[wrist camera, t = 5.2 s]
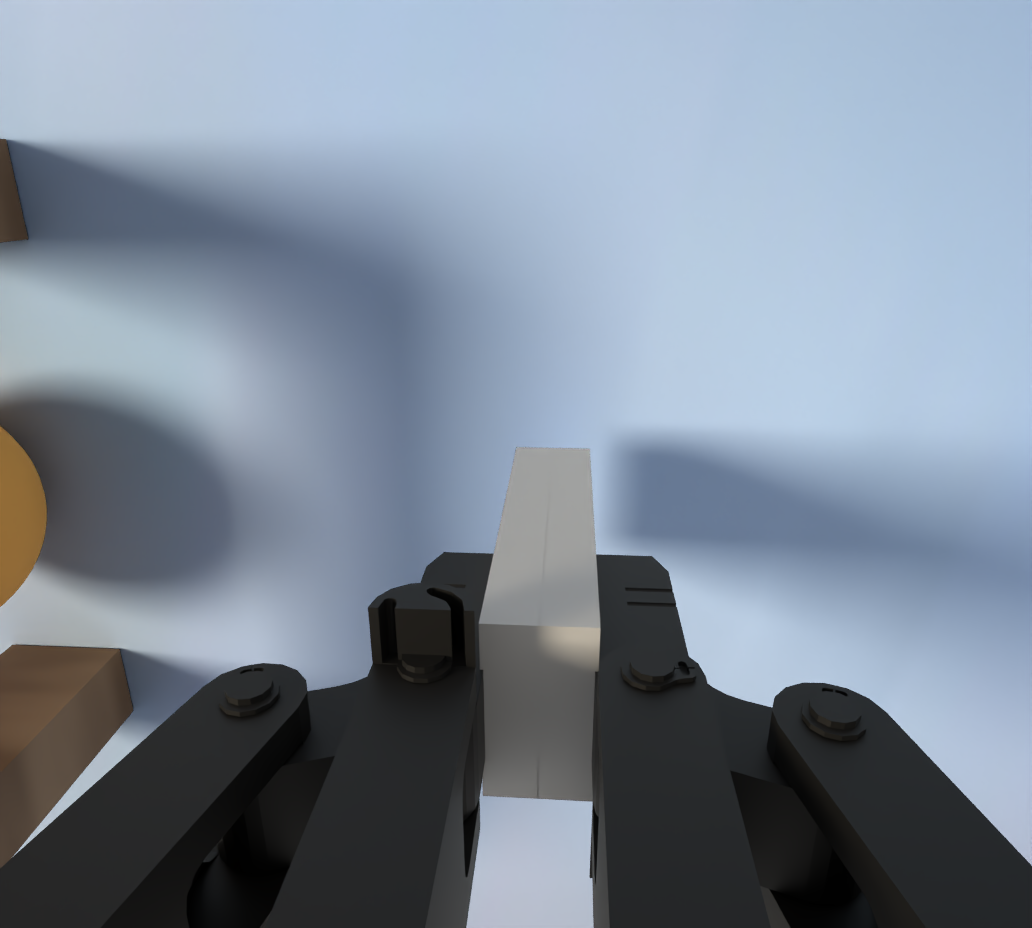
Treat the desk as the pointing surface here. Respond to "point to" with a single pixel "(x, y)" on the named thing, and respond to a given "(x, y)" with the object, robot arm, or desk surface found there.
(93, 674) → the bridge
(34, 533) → the ball
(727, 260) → the desk surface
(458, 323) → the desk surface
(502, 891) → the desk surface
